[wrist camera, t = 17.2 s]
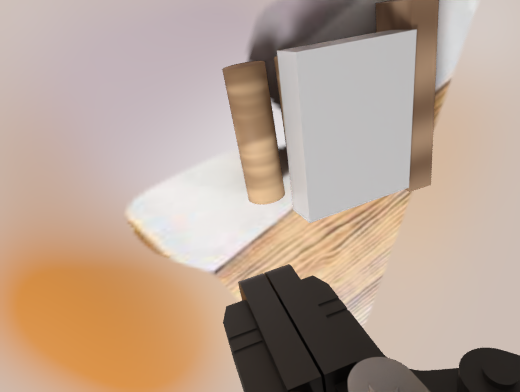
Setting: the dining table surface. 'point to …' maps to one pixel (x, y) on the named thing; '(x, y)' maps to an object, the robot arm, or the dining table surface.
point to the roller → (255, 130)
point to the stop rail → (417, 76)
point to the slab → (348, 120)
